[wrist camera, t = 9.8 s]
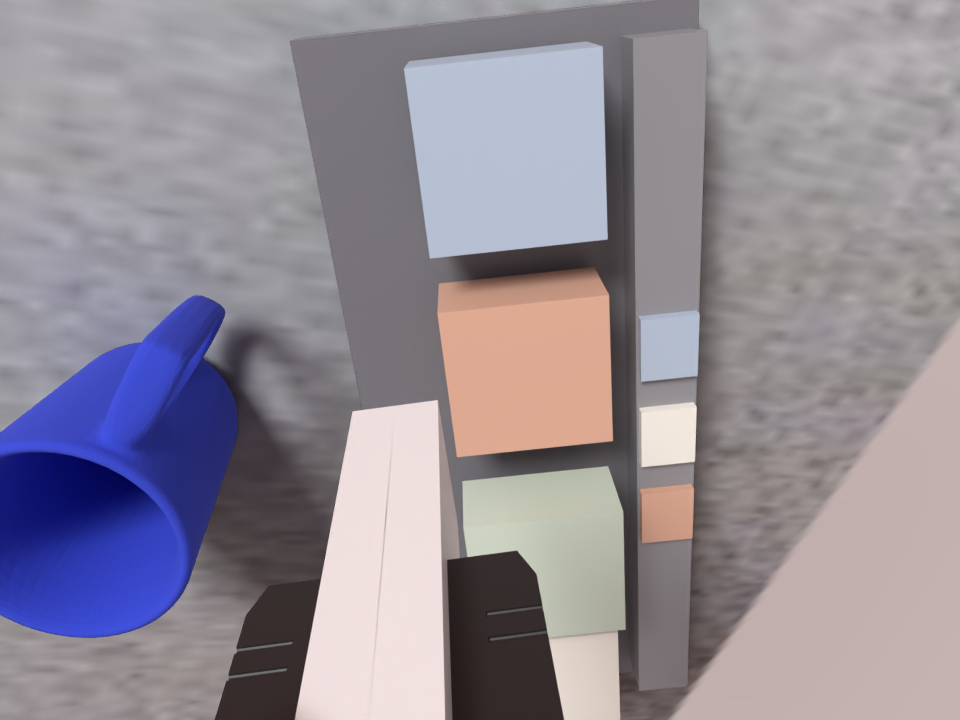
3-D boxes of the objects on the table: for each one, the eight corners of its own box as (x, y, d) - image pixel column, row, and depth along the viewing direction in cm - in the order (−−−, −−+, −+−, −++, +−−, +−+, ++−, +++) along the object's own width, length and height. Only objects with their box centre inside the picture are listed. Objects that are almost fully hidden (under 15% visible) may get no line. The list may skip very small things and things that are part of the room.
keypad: (419, 663, 41) (416, 733, 37) (300, 38, 27) (274, 45, 23) (671, 638, 41) (695, 706, 37) (682, -5, 27) (722, -6, 23)
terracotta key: (456, 417, 31) (456, 457, 28) (438, 283, 28) (437, 313, 26) (599, 402, 31) (612, 441, 28) (594, 266, 28) (609, 294, 26)
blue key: (431, 233, 28) (430, 258, 25) (409, 61, 25) (403, 68, 22) (592, 216, 28) (607, 239, 25) (586, 41, 25) (602, 46, 22)
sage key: (477, 591, 33) (479, 644, 30) (462, 481, 30) (463, 528, 28) (611, 578, 33) (625, 629, 30) (608, 466, 30) (623, 511, 28)
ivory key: (492, 684, 38) (495, 736, 35) (480, 596, 36) (482, 645, 33) (608, 673, 38) (620, 724, 35) (605, 584, 35) (617, 632, 33)
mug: (330, 305, 32) (281, 426, 23) (215, 503, 36) (137, 671, 27) (145, 205, 30) (11, 295, 21) (47, 428, 34) (-99, 583, 25)
